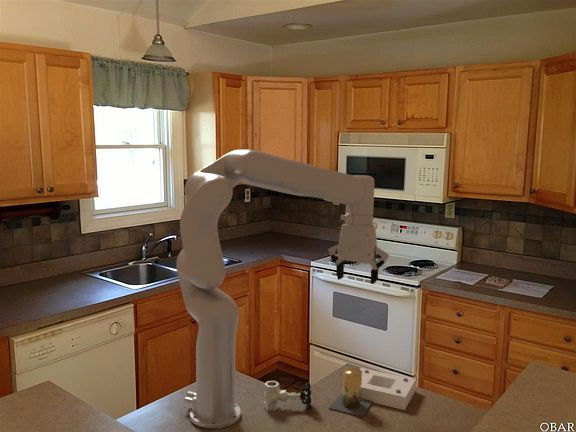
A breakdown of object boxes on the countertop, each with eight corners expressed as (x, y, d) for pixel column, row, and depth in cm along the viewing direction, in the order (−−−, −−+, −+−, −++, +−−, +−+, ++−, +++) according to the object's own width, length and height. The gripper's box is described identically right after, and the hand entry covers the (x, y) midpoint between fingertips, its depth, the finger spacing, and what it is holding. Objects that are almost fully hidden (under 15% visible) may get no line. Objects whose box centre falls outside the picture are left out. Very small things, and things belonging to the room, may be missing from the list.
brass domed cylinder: (339, 406, 134) (340, 373, 133) (345, 398, 138) (346, 366, 137) (357, 410, 132) (358, 376, 131) (362, 402, 136) (364, 370, 135)
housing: (346, 396, 141) (346, 382, 140) (360, 379, 151) (360, 366, 151) (404, 410, 134) (405, 395, 133) (415, 391, 144) (415, 378, 144)
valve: (263, 414, 130) (310, 414, 131) (263, 389, 129) (311, 389, 130) (263, 402, 137) (308, 401, 137) (263, 378, 136) (309, 378, 136)
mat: (328, 409, 133) (328, 407, 133) (341, 394, 141) (341, 393, 141) (362, 417, 129) (362, 416, 129) (372, 402, 137) (373, 401, 137)
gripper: (324, 219, 143) (322, 279, 145) (386, 224, 135) (383, 287, 137) (334, 216, 150) (332, 274, 152) (393, 221, 142) (390, 281, 144)
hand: (356, 280), depth 145 cm, fingers open, 9 cm apart
